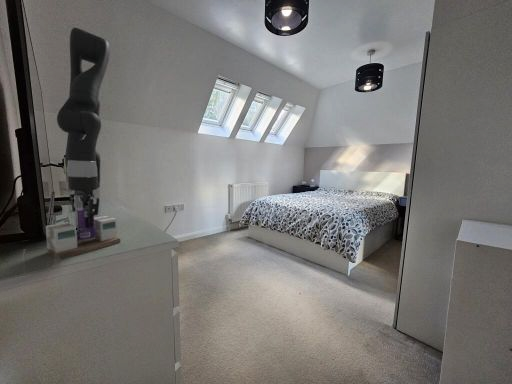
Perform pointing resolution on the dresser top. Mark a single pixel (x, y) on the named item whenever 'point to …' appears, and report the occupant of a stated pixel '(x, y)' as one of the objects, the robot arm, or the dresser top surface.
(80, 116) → the robot arm
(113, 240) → the board
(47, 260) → the dresser top surface
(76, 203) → the container
